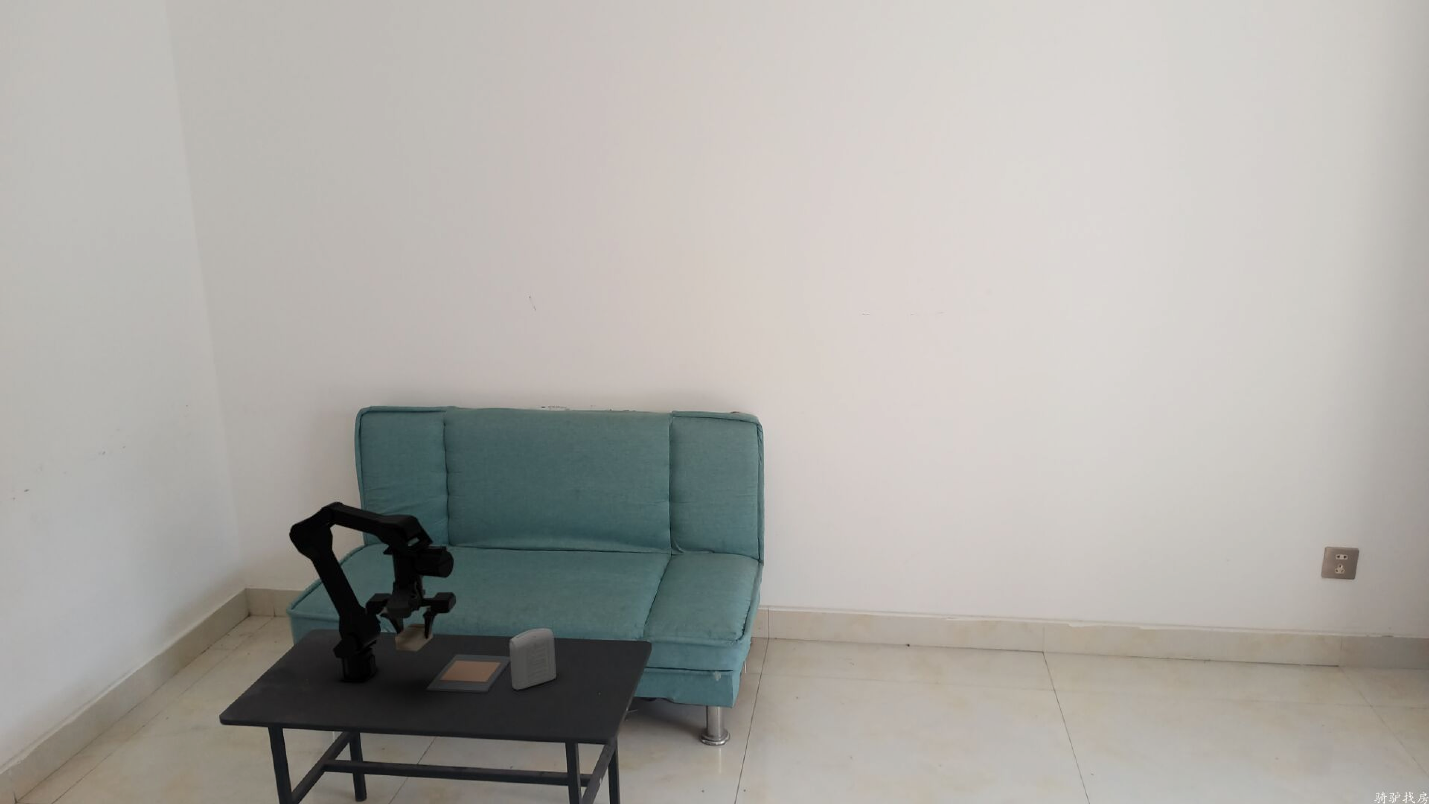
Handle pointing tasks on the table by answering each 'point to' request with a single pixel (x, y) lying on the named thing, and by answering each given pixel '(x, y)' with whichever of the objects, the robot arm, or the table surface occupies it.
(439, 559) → the robot arm
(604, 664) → the table surface
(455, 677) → the rubber mat
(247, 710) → the table surface
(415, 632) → the tan beveled box
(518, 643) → the grey rounded block
